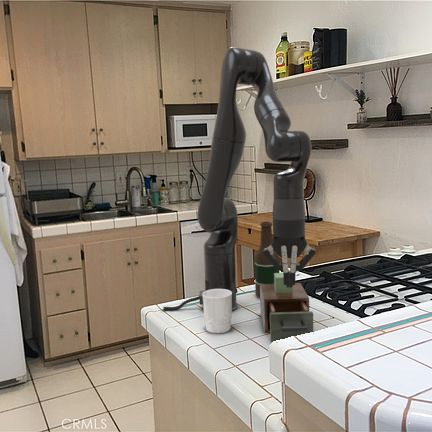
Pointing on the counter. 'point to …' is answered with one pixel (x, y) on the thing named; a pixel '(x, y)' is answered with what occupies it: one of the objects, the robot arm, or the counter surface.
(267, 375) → the counter surface
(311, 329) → the drawer
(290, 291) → the block
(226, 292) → the white cup
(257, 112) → the robot arm
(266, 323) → the cabinet
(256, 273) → the beer bottle
